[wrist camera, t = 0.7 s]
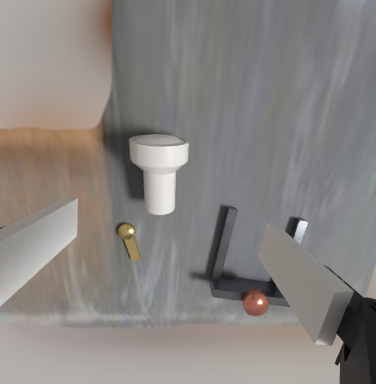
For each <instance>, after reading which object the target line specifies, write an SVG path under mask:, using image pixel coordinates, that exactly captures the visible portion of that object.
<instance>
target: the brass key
mask: <svg viewBox="0 0 376 384" xmlns="http://www.w3.org/2000/svg"><path fill="white" fill-rule="evenodd" d="M118 234H119V236H120V237H121V238H122V239H124V241H125V243H126V246H127V249H128V252H129V254H130V257H131V260H132V261H134V260H138V259H141V254H140V252H139V249H138V246H137V243H136V240H135V237H134V234H135V228H134V226H133V225H131V224H129V223H125V224H122V225H121V226H120V228H119V229H118Z"/></svg>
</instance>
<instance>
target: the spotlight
mask: <svg viewBox="0 0 376 384" xmlns="http://www.w3.org/2000/svg"><path fill="white" fill-rule="evenodd" d="M188 147H189V141H188V140H187V139H185V138H183V137H178V136H172V135H163V134H152V135H139V136H134V137H131V138H130V139H129V148H130V159H131V161H132V162H133V163H134V164H135V165H137V166H138V167H139V168H140V169H142V170H143V178H144V201H145V209H146V211H147V212H149V213H150V214H154V215H164V214H169V213H171V212H172V211H173V210H174V209H175V183H176V170H178V169H179V168H180V167H181V166H183V165H184V164H185V163H186V162H188Z"/></svg>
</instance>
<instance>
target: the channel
mask: <svg viewBox="0 0 376 384" xmlns="http://www.w3.org/2000/svg"><path fill="white" fill-rule="evenodd" d="M237 211H238V210H237V209H236V208H233V207H227V210H226V214H225V218H224V222H223V227H222V231H221V235H220V239H219V243H218V247H217V252H216V256H215V260H214V264H213V268H212V273H211V277H210V281H209V282H210V287H211V291H212V296H213V297H216V298H224V299H232V300H239V301H242V303H243V305H244V308H245V310H246V312H247V313H248V314H249V315H252V316H259V315H262V314H263V313H265V312H266V311H267V309H268V307H269V304H270V305H278V306H286V307H290V305H289V304H288V302H287V301H286V299H285V298H284V296H283V295H282V293H281V292H280V290H279V289H278V287H277V286H276V284H275V283H269V282H262V281H255V280H248V279H240V278H233V277H226V276H221V274H222V270H223V266H224V262H225V258H226V254H227V250H228V246H229V242H230V238H231V235H232V231H233V227H234V223H235V219H236V215H237ZM307 223H308V222H307V221H306V220H304V219H299V218H296V219H295V222H294V225H293V228H292V231H291V234H290V236H291V237H292V238H293V239H294V240H295V241H297V242H298V243H299V244H300V243H301V240H302V237H303V235H304V232H305V229H306V226H307Z"/></svg>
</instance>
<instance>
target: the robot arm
mask: <svg viewBox="0 0 376 384" xmlns="http://www.w3.org/2000/svg"><path fill="white" fill-rule="evenodd" d="M77 212H78V198H71V197H65V198H63V199H61V200H58V201H56V202H54V203H52V204H50V205H48V206H46V207H44V208H42V209H40V210H38V211H36V212H34V213H32V214H30V215H28V216H26V217H24V218H22V219H20V220H18V221H15V222H13V223H11V224H9V225H7V226H5V227H1V228H0V306H1V305H2V304H3V303H4V302H6V301H7V300H8V299H9V298H10V297H11V296H12V295H13V294H14V293H15V292H16V291H17V290H19V289H20V288H21V287H22V286H23V285H24V284H25V283H26V282H27V281H28V280H29V279H31V278H32V277H33V276H34V275H35V274H36V273H37V272H38V271H39V270H40V269H41V268H43V267H44V266H45V265H46V264H47V263H48V262H49V261H50V260H51V259H52V258H53V257H55V256H56V255H57V254H58V253H59V252H60V251H61V250H62V249H63V248H64V247H65V246H67V245H68V244H69V243H70V242H71V241H72V240H73V239H74V238H75V237H76V236H77ZM258 258H259V260H260V261H261V263H262V264H263V266H264V267H265V269H266V270H267V272H268V274H269V275H270V277H271V278H272V280H273V281H274V283H275V284H276V286H277V287H278V289H279V290H280V292H281V293H282V295H283V296H284V298H285V299H286V301H287V302H288V304H289V305H290V307H291V308H292V310H293V311H294V313H295V314H296V316H297V317H298V319H299V320H300V322H301V323H302V325H303V326H304V328H305V329H306V331H307V332H308V334H309V335H310V337H311V339H312V340H313V342H314V343H315V344H321V345H332V344H333V342H334V339H335V337H336V334H338V336H339V337H340V338H341V339H342V341H343V342H344V343H343V345H342V347H341V350H340V352H339V355H338V357H337V359H336V362H335V364H336V365H338V364H339V363H340V384H376V299H372V298H367V297H366V298H364V297H362V296H361V295H360V294H359V293H358V292H357V291H355V290H354V289H353V288H352V287H351V286H350V285H348V284H347V283H346V282H345V281H343V279H341V278H340V277H339V276H337V275H336V273H334V272H333V271H332V270H331V269H330V268H328V267H327V266H325V265H323V264H322V263H321V262H320V261H318V260H317V259H316V258H315V257H314V256H313V255H312V254H310V253H309V252H308V251H307V250H306V249H305V248H303V247H302V246H301V245H300V244H299V243H298V242H297V241H295V240H294V239H293V238H292V237H291V236H290V235H289V234H287V233H286V232H285V231H284V230H283V229H282V228H280V227H279V226H278V225H277V224H269V223H267V224H266V228H265V232H264V236H263V239H262V243H261V247H260V251H259V255H258Z"/></svg>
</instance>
